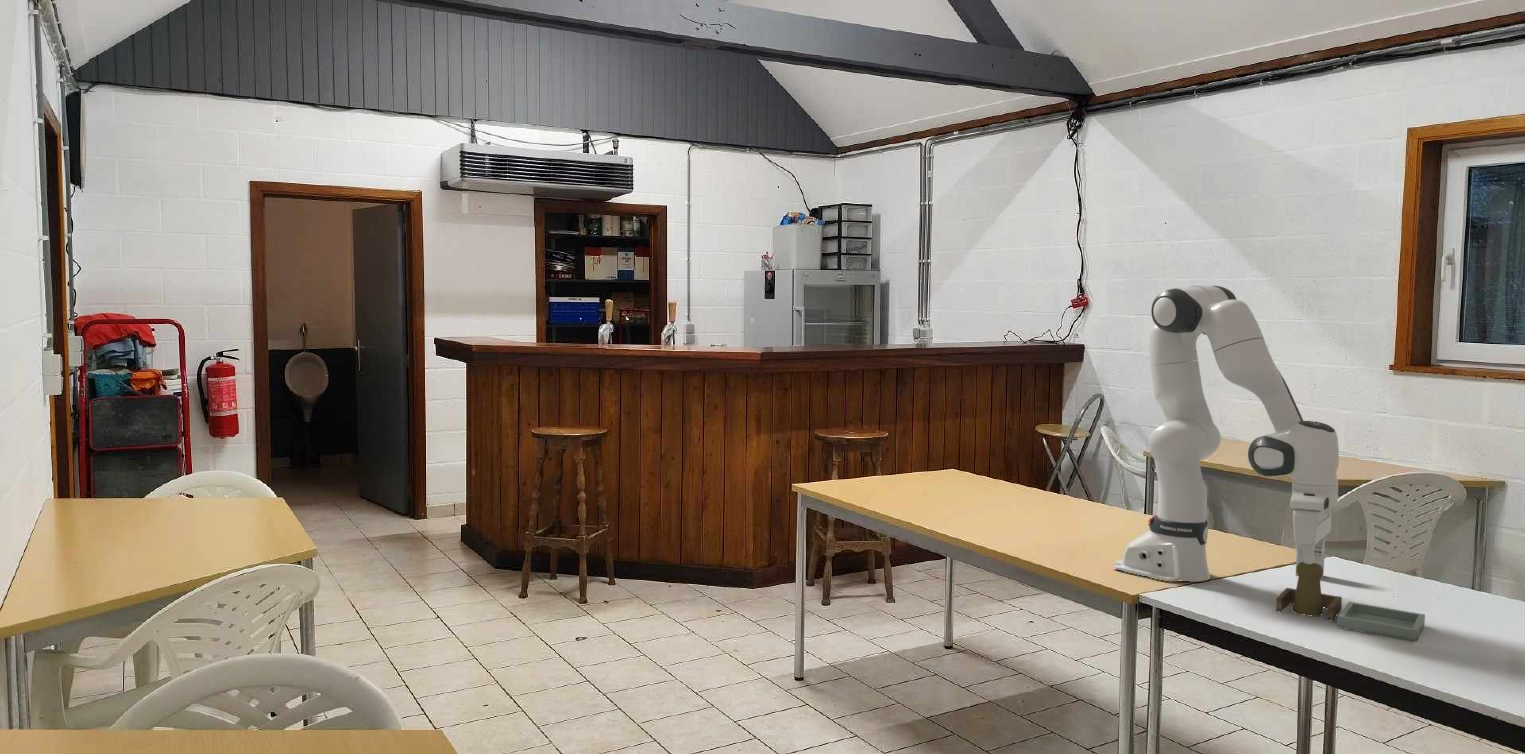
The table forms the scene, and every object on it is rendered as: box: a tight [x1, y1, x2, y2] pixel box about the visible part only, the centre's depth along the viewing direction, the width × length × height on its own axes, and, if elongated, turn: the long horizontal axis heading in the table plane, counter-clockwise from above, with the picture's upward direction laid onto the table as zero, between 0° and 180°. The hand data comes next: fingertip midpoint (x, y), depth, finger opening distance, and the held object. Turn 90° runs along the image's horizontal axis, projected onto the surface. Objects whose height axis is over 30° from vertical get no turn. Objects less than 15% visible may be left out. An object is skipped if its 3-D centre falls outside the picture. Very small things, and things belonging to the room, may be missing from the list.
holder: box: [1275, 587, 1343, 622], centre depth 222 cm, size 11×10×3 cm
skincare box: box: [1295, 539, 1326, 580], centre depth 252 cm, size 6×4×12 cm
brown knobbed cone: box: [1291, 562, 1324, 617], centre depth 221 cm, size 6×6×11 cm
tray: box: [1336, 601, 1426, 643], centre depth 211 cm, size 14×14×2 cm
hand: (1313, 559), depth 220 cm, fingers open, 8 cm apart
